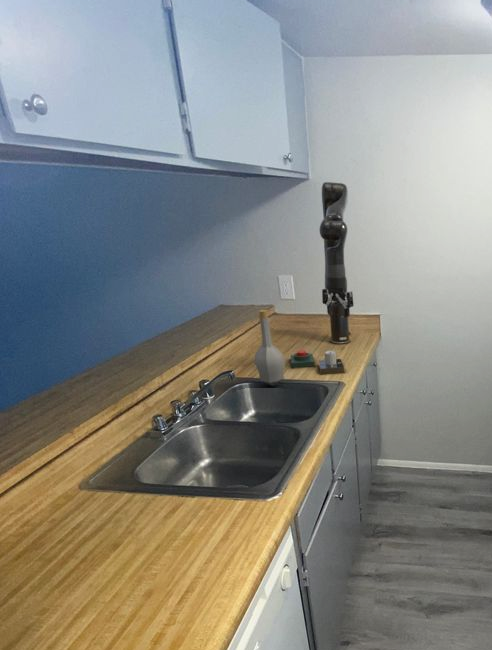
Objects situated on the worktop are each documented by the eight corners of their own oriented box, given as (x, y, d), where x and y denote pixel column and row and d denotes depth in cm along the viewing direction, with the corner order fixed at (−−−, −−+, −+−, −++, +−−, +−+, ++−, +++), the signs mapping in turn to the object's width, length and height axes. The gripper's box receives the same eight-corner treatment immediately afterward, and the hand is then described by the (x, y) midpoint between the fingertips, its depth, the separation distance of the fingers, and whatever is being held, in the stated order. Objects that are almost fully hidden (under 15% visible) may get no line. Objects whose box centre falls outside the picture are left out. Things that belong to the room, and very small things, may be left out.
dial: (324, 362, 209) (324, 350, 206) (335, 361, 210) (335, 349, 207) (325, 365, 205) (325, 353, 202) (337, 364, 206) (336, 353, 203)
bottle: (292, 382, 193) (283, 308, 179) (279, 392, 184) (269, 315, 169) (266, 380, 195) (256, 306, 181) (253, 390, 186) (241, 313, 172)
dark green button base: (291, 359, 219) (290, 351, 218) (312, 358, 222) (312, 350, 220) (291, 368, 209) (290, 359, 207) (314, 366, 211) (313, 357, 209)
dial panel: (318, 365, 213) (318, 359, 211) (341, 363, 215) (340, 358, 213) (321, 374, 202) (320, 368, 201) (344, 372, 204) (343, 366, 203)
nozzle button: (297, 354, 215) (296, 350, 214) (306, 353, 216) (305, 350, 215) (297, 357, 212) (297, 353, 211) (306, 356, 212) (306, 352, 212)
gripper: (356, 275, 189) (357, 316, 197) (328, 272, 195) (330, 312, 203) (344, 278, 183) (346, 320, 191) (316, 275, 190) (319, 315, 197)
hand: (338, 316), depth 197 cm, fingers open, 8 cm apart
